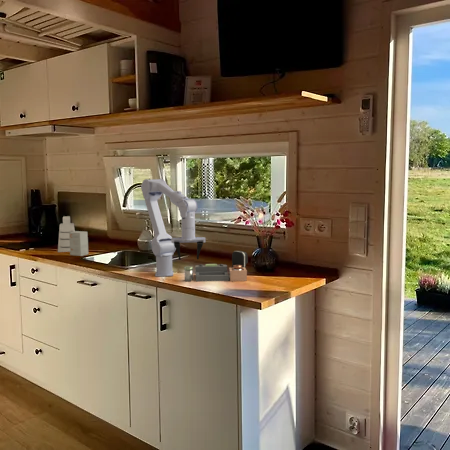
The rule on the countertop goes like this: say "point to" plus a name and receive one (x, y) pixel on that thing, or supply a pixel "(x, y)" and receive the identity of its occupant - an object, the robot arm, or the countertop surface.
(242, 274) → the cup
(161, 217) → the robot arm
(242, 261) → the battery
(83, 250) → the small box
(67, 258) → the countertop surface
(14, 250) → the countertop surface
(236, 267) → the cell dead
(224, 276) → the tester
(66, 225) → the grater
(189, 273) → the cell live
